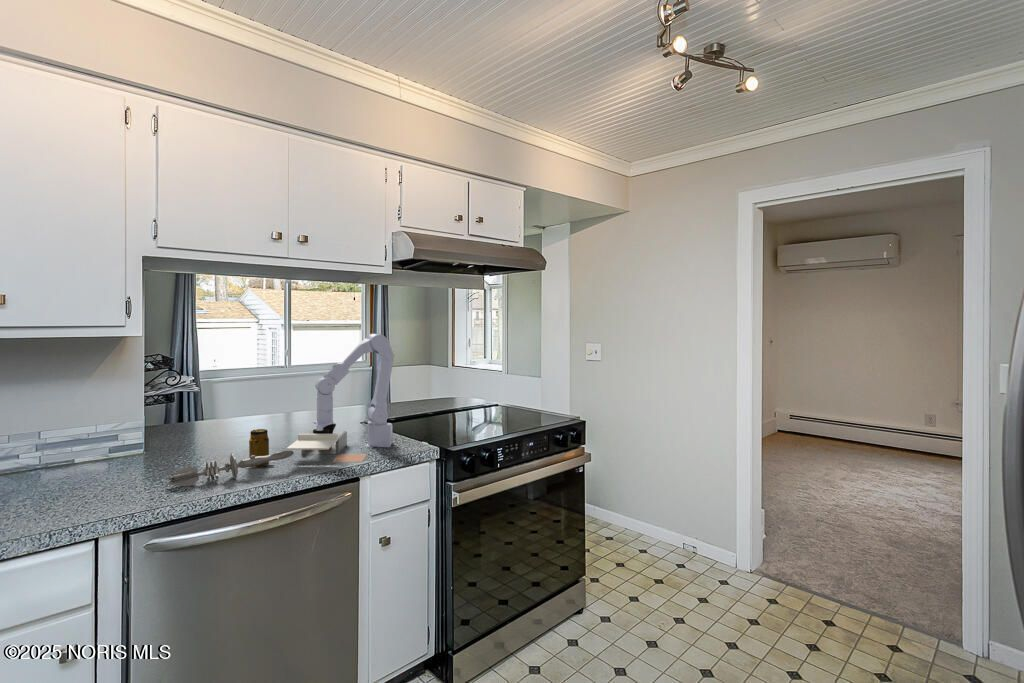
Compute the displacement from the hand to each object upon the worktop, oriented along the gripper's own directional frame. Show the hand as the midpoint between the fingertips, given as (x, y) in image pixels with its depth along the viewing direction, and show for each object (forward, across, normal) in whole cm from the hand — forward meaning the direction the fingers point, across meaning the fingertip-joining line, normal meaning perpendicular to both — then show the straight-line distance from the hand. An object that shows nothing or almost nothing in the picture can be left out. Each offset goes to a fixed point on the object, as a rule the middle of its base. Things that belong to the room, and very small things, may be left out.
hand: (324, 445), depth 194 cm
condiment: (+2, +18, -16) cm, 24 cm away
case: (+2, 0, 0) cm, 2 cm away
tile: (+2, +12, +12) cm, 17 cm away
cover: (-4, +15, 0) cm, 15 cm away
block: (+1, 0, 0) cm, 1 cm away
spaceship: (+2, +32, -19) cm, 37 cm away
